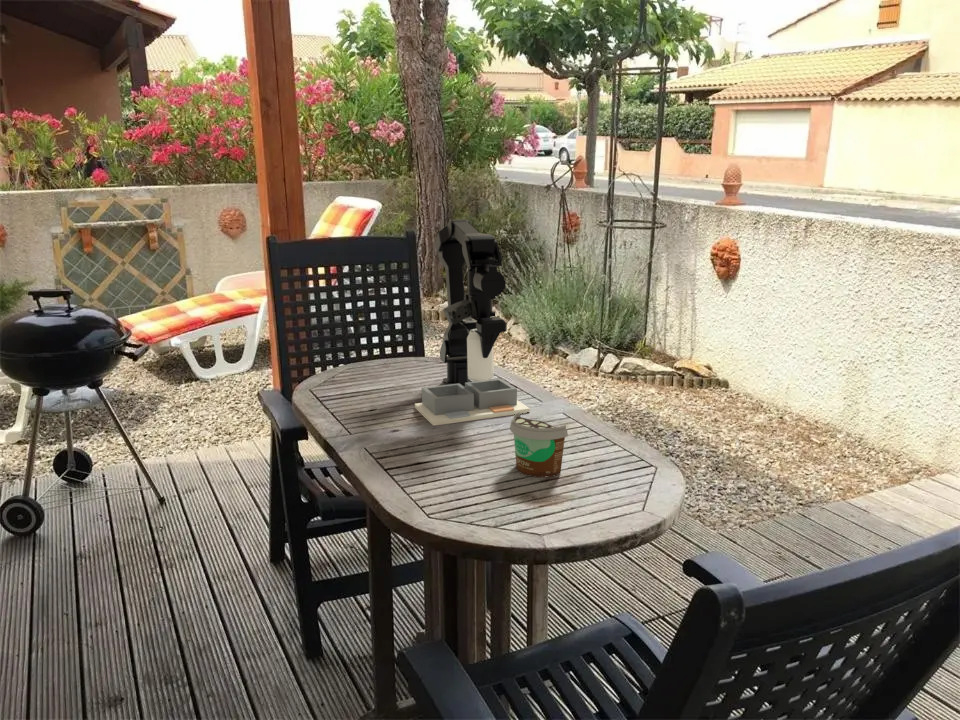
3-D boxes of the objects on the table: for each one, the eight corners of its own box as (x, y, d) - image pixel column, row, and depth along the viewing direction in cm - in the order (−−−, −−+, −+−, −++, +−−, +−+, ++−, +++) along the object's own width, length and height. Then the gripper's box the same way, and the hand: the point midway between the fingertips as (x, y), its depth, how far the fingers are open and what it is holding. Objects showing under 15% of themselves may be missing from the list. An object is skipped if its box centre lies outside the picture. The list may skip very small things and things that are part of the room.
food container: (496, 467, 150) (496, 419, 147) (517, 459, 154) (517, 411, 151) (546, 485, 141) (547, 434, 139) (566, 475, 146) (568, 425, 143)
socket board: (414, 407, 186) (414, 387, 184) (505, 396, 194) (506, 377, 193) (433, 425, 173) (432, 404, 172) (529, 412, 182) (530, 392, 180)
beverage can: (495, 382, 182) (494, 332, 179) (469, 383, 181) (468, 333, 178) (491, 375, 188) (491, 327, 185) (466, 377, 187) (465, 328, 184)
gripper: (434, 285, 185) (436, 348, 189) (460, 298, 168) (461, 367, 172) (478, 282, 189) (478, 344, 193) (507, 295, 172) (507, 362, 176)
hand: (480, 354), depth 183 cm, fingers closed on beverage can, 6 cm apart
